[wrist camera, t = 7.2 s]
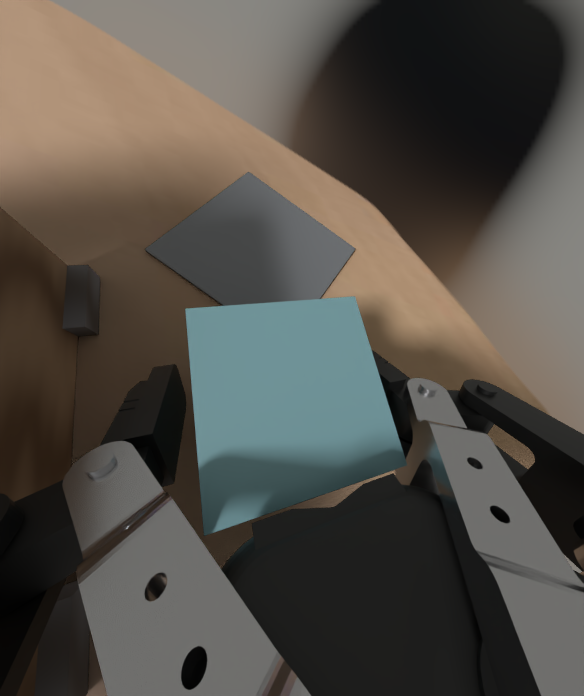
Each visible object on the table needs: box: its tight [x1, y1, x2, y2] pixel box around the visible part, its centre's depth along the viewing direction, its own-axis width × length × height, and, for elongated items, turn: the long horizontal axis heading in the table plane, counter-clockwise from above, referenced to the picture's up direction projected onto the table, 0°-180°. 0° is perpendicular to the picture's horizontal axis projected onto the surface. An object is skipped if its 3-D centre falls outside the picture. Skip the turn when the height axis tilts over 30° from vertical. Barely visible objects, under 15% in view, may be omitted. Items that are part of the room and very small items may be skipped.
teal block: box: [185, 297, 407, 536], centre depth 10 cm, size 5×5×9 cm
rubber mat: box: [145, 172, 355, 306], centre depth 17 cm, size 12×12×1 cm
